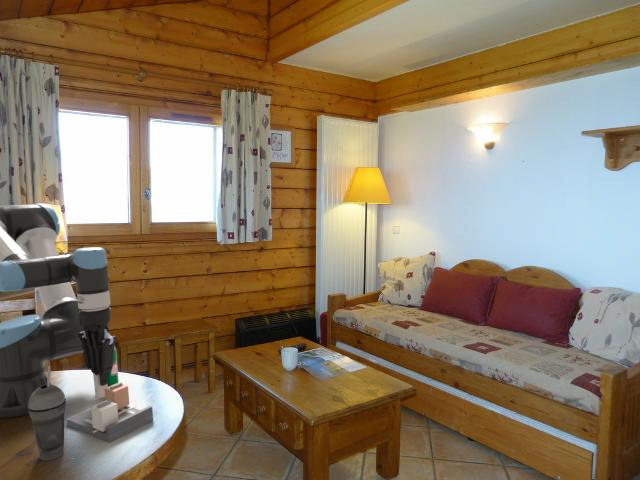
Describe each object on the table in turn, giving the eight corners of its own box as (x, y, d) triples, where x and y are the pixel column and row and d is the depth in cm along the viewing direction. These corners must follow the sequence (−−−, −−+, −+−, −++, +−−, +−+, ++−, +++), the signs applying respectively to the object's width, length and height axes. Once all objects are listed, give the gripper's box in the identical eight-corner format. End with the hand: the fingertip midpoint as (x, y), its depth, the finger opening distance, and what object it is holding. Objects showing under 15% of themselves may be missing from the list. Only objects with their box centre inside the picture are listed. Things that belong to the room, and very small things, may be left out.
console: (63, 426, 118) (62, 412, 118) (113, 404, 130) (112, 391, 129) (106, 444, 109) (105, 429, 109) (155, 418, 121) (154, 405, 120)
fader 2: (92, 427, 113) (90, 404, 112) (108, 420, 116) (106, 397, 116) (103, 431, 111) (101, 408, 110) (118, 424, 114) (116, 401, 113)
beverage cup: (45, 446, 109) (37, 360, 107) (77, 445, 109) (69, 359, 107) (24, 464, 102) (15, 372, 100) (58, 464, 102) (50, 372, 99)
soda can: (116, 389, 139) (113, 348, 138) (97, 390, 138) (94, 349, 137) (120, 382, 144) (117, 343, 143) (102, 384, 143) (99, 344, 142)
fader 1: (105, 407, 123) (104, 386, 123) (119, 401, 127) (118, 380, 126) (115, 410, 121) (113, 389, 121) (129, 404, 124) (127, 383, 124)
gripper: (66, 308, 125) (73, 396, 127) (96, 314, 118) (104, 407, 120) (93, 302, 131) (100, 386, 134) (123, 307, 124) (130, 395, 127)
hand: (101, 396), depth 127 cm, fingers closed
